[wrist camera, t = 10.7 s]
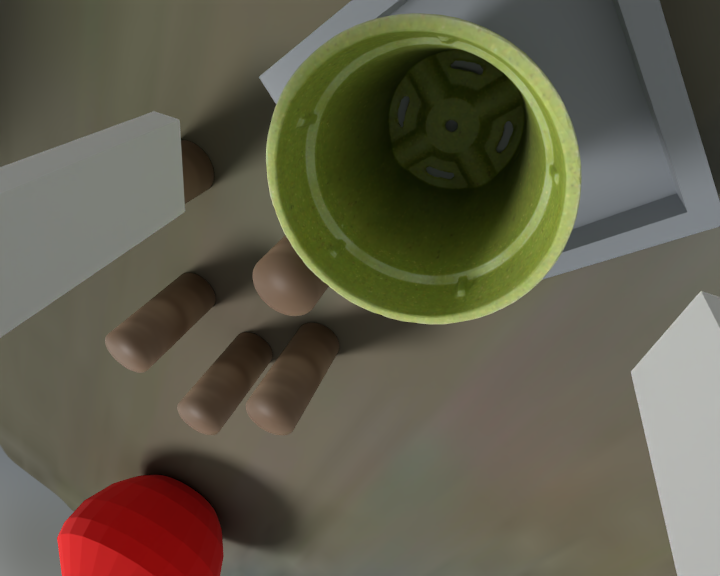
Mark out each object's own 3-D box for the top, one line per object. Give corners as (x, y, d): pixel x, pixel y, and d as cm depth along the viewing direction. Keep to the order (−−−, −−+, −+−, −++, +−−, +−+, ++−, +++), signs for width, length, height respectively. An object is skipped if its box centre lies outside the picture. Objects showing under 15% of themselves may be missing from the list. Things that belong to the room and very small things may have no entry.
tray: (285, 67, 22) (258, 77, 20) (592, -180, 14) (598, -204, 12) (421, 293, 26) (410, 318, 24) (708, 198, 19) (726, 224, 17)
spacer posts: (104, 200, 31) (9, 248, 26) (272, 60, 22) (179, 89, 16) (252, 379, 37) (200, 448, 31) (435, 328, 27) (407, 415, 22)
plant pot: (614, 18, 16) (656, 51, 9) (526, 241, 22) (514, 359, 15) (370, -20, 18) (261, -15, 11) (348, 194, 24) (267, 281, 17)
